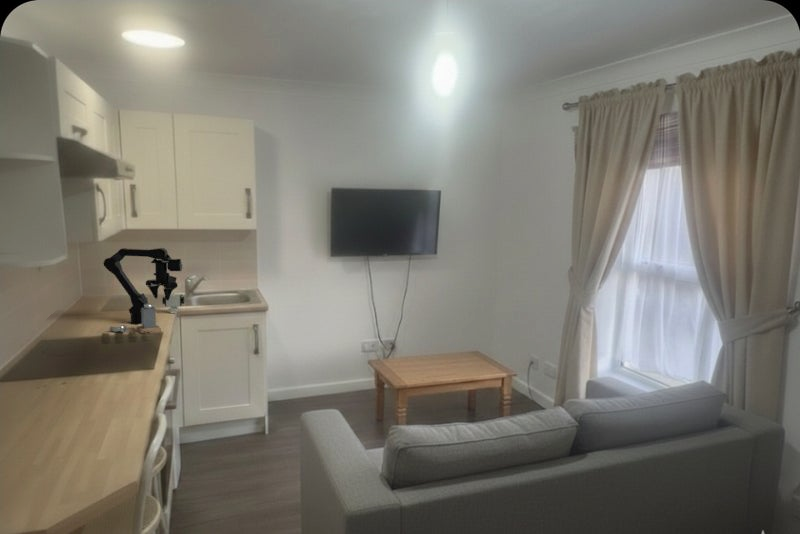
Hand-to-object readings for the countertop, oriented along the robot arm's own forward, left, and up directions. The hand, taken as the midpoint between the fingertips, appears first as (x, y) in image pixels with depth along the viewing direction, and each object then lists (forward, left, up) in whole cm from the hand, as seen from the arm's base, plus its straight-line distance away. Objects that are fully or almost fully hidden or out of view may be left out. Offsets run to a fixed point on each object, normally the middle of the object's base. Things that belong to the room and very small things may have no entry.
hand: (161, 299), depth 280 cm
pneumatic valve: (-15, +20, -13) cm, 28 cm away
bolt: (-1, -26, -13) cm, 29 cm away
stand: (+10, -16, -13) cm, 23 cm away
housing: (+10, -16, -11) cm, 22 cm away
